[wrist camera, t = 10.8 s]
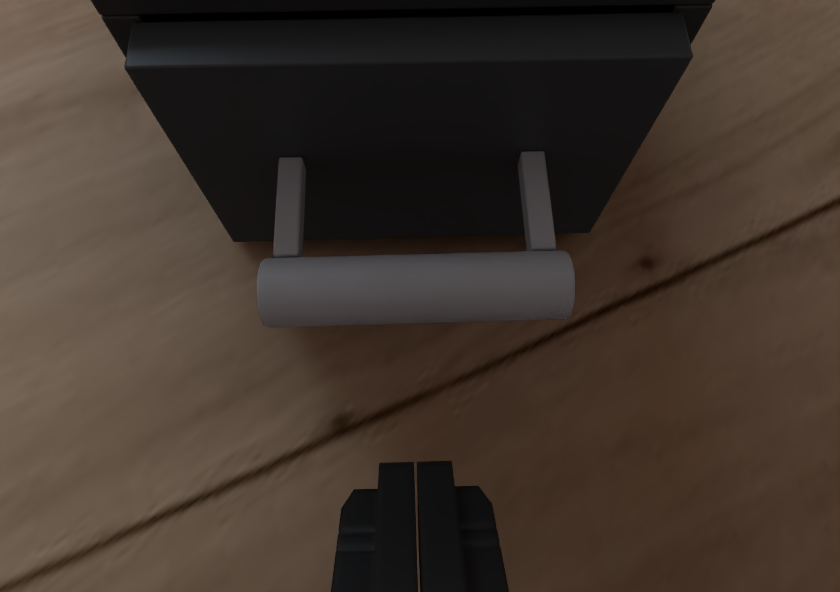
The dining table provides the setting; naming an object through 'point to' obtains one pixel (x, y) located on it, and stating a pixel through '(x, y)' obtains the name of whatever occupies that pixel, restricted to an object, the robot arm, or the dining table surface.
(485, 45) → the drawer
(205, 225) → the dining table surface
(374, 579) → the robot arm
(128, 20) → the cabinet
